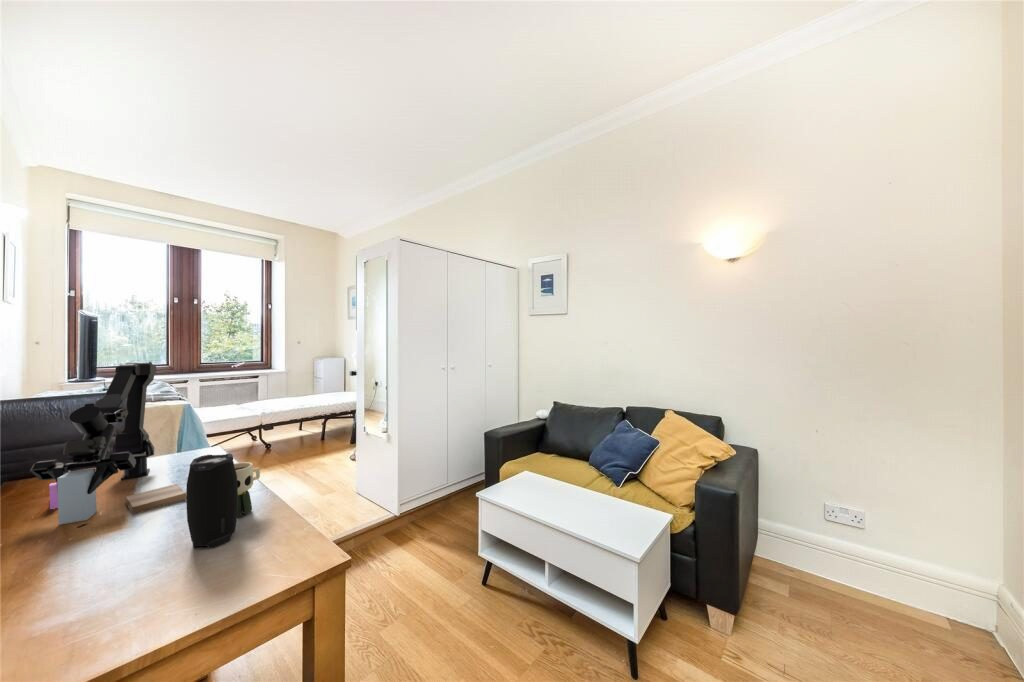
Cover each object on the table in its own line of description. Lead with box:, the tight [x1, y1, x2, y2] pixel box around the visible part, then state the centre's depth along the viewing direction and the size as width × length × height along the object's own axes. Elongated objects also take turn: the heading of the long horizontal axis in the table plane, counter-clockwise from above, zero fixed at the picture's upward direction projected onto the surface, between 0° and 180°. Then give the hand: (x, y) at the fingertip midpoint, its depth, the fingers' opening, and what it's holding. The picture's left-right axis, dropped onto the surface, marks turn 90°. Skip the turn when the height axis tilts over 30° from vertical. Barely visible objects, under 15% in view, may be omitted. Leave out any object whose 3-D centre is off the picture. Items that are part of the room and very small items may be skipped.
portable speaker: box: [185, 453, 238, 549], centre depth 87 cm, size 9×9×20 cm
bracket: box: [48, 482, 58, 510], centre depth 109 cm, size 13×6×7 cm, turn 50°
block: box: [57, 468, 98, 526], centre depth 98 cm, size 5×5×12 cm
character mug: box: [234, 461, 261, 518], centre depth 100 cm, size 11×7×13 cm, turn 146°
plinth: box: [125, 483, 186, 515], centre depth 108 cm, size 11×11×2 cm
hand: (74, 495), depth 97 cm, fingers closed on block, 5 cm apart
